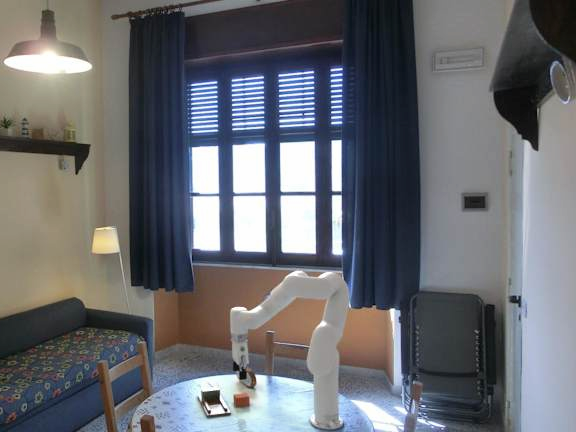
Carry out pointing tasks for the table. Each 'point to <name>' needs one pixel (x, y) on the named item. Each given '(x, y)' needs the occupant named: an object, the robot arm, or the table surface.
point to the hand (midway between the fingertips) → (239, 375)
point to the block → (241, 399)
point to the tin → (248, 378)
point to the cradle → (213, 402)
